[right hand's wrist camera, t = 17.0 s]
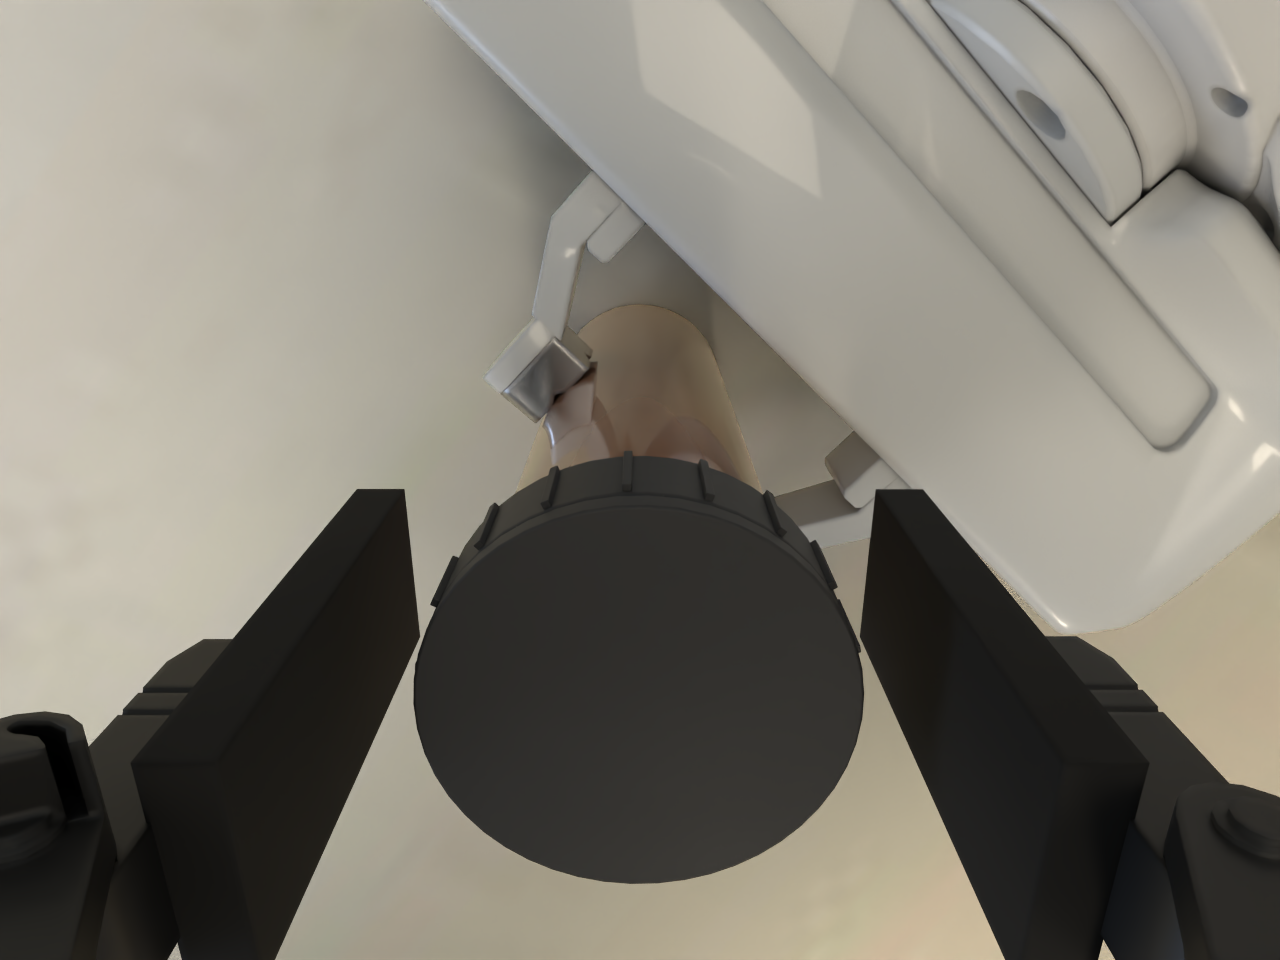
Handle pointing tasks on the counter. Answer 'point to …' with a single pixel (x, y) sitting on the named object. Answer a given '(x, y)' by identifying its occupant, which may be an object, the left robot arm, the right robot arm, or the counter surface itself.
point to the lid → (638, 673)
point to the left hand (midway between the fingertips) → (613, 485)
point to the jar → (643, 400)
